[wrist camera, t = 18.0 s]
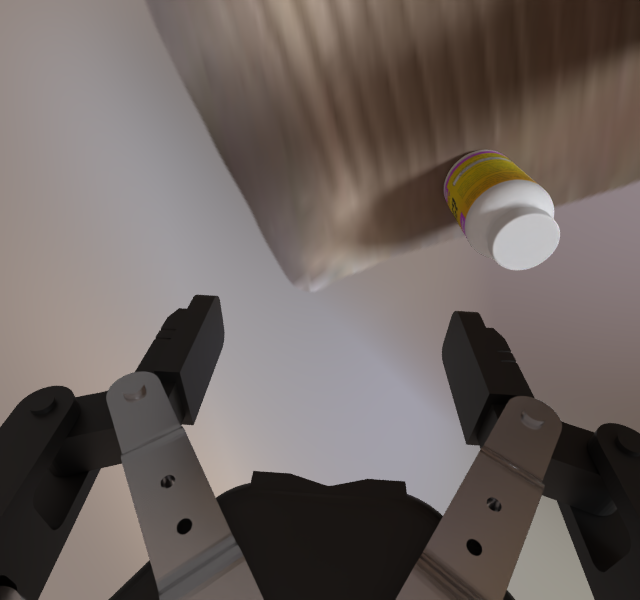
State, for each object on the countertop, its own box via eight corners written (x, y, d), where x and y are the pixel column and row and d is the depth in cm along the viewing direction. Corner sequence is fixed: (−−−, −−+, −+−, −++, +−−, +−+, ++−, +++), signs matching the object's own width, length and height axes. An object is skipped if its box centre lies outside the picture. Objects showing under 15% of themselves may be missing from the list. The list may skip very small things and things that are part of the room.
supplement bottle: (429, 179, 38) (460, 238, 28) (491, 132, 35) (551, 178, 25) (463, 226, 41) (504, 295, 31) (523, 185, 38) (590, 247, 28)
